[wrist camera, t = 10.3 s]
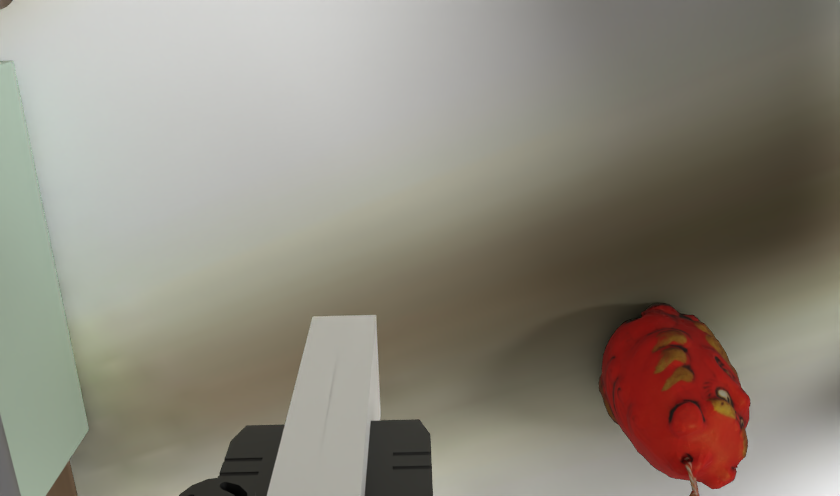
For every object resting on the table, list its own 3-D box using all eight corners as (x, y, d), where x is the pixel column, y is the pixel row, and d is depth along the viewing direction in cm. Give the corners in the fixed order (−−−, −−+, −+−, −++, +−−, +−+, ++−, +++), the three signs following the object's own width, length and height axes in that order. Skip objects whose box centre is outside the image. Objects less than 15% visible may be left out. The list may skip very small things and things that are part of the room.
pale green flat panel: (-17, 61, 37) (-142, 96, 29) (17, 60, 37) (-98, 95, 29) (64, 430, 45) (-15, 543, 37) (92, 429, 45) (19, 542, 37)
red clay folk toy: (738, 370, 45) (886, 565, 31) (634, 434, 46) (730, 646, 32) (670, 275, 42) (797, 438, 29) (563, 345, 44) (634, 532, 30)
